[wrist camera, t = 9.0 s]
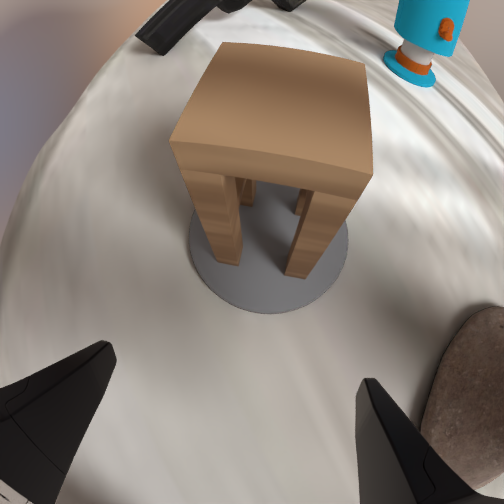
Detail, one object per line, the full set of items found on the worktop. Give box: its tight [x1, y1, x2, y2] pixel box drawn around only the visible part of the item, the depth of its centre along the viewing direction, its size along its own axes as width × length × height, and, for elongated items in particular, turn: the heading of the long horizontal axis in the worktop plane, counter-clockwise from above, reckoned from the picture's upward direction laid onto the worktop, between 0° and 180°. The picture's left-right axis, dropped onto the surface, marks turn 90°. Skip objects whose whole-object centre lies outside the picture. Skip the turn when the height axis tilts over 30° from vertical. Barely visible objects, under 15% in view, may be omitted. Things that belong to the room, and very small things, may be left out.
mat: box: [189, 180, 348, 314], centre depth 20 cm, size 11×11×1 cm
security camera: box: [384, 0, 470, 87], centre depth 18 cm, size 8×21×10 cm
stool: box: [169, 42, 373, 279], centre depth 14 cm, size 6×6×12 cm
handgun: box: [135, 0, 306, 56], centre depth 28 cm, size 2×24×15 cm, turn 129°
